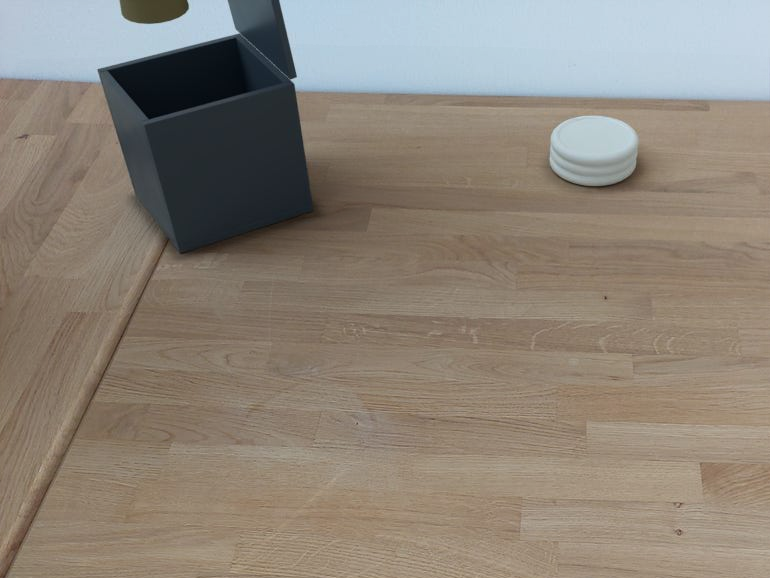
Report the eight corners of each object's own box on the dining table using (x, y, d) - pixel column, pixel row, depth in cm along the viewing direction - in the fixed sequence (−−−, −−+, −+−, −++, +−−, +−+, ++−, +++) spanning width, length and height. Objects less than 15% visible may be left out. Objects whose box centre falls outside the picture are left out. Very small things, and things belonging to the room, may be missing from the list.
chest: (180, 253, 101) (144, 124, 91) (135, 195, 108) (96, 68, 97) (313, 210, 106) (294, 83, 95) (262, 157, 113) (239, 32, 102)
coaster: (652, 163, 112) (657, 132, 109) (600, 198, 107) (603, 167, 105) (584, 135, 116) (587, 104, 113) (531, 167, 111) (532, 136, 109)
